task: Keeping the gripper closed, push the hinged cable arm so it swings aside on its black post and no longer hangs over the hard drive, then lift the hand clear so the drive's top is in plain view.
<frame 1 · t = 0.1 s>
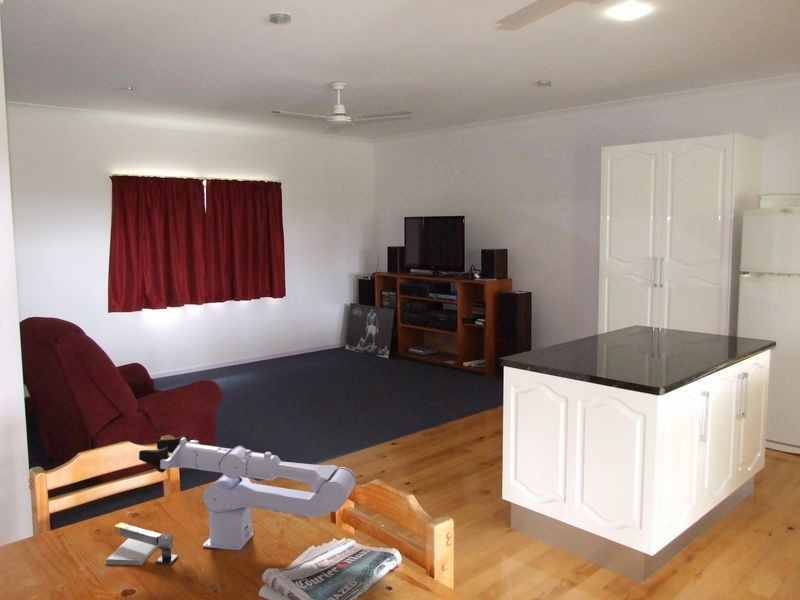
hand: (148, 449, 157), 22 cm above the table, tool horizontal, fingers open, 7 cm apart
cable arm: (144, 535, 149), point 4 cm above the table, hinge at -15.0°
hard drive: (136, 553, 151), on the table
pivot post: (166, 560, 147), on the table
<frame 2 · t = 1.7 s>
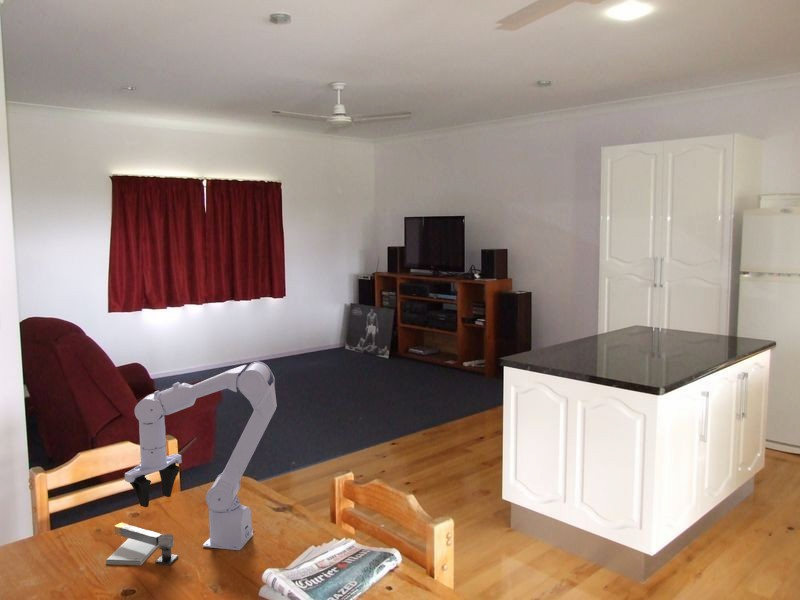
hand: (155, 500, 154), 10 cm above the table, tool pointing down, fingers open, 6 cm apart
nothing on the table moved.
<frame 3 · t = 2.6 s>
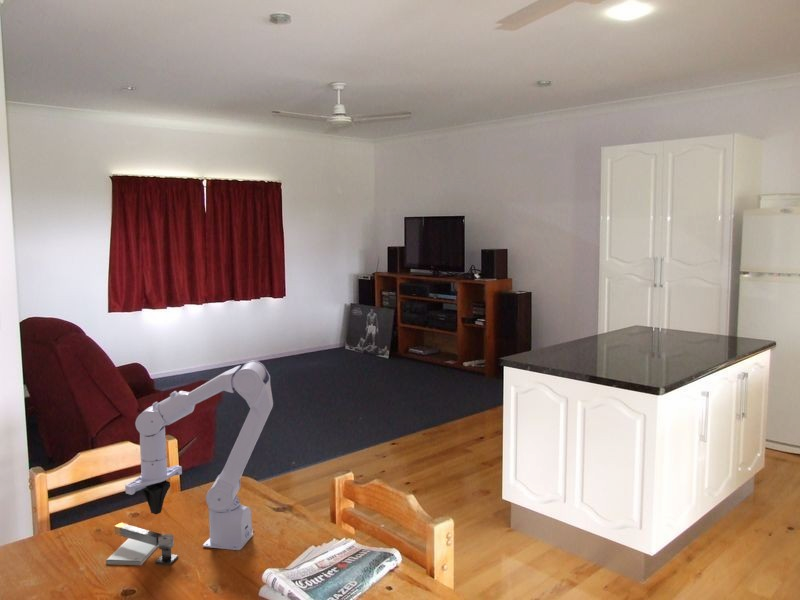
hand: (156, 512, 154), 8 cm above the table, tool pointing down, fingers closed
nothing on the table moved.
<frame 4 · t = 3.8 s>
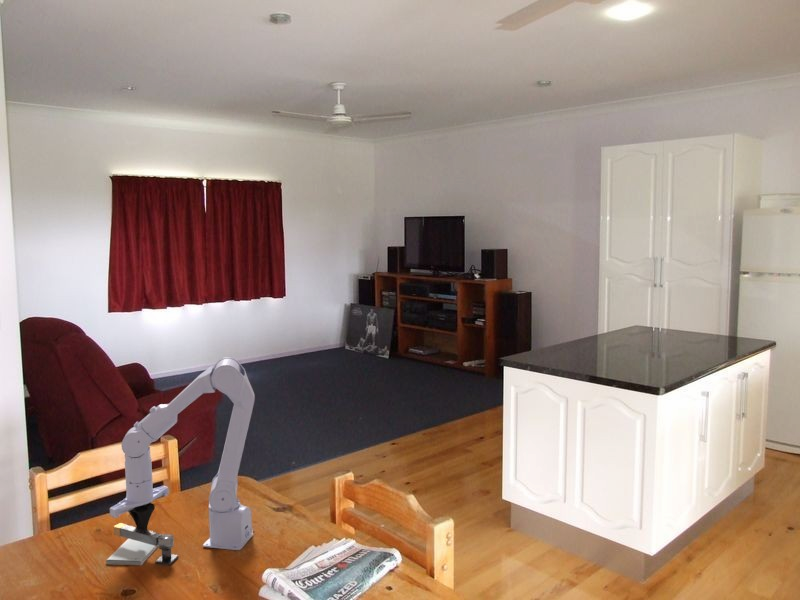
hand: (142, 534, 151), 4 cm above the table, tool pointing down, fingers closed, pressing on cable arm
cable arm: (143, 535, 149), point 4 cm above the table, hinge at -14.1°, touching gripper
everything else where it was.
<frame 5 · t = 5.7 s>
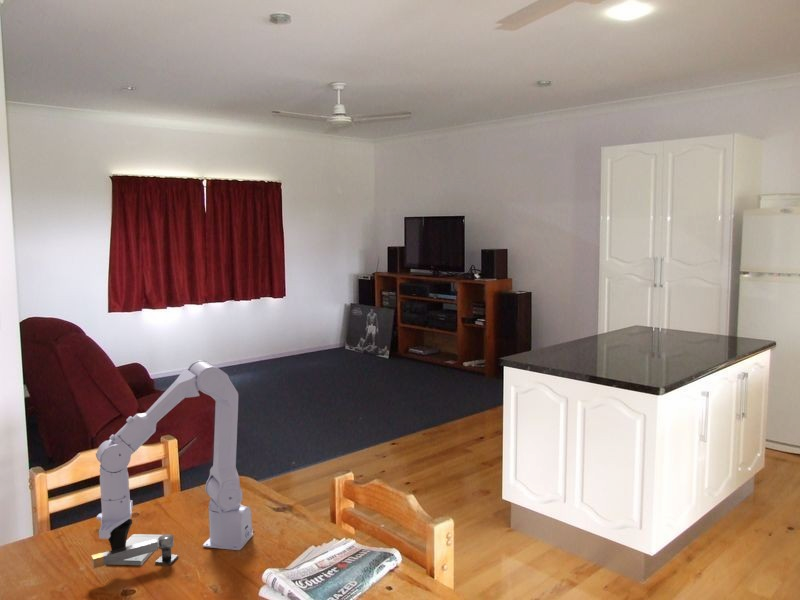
hand: (118, 554, 142), 4 cm above the table, tool pointing down, fingers closed, pressing on cable arm
cable arm: (134, 550, 142), point 4 cm above the table, hinge at 45.3°, touching gripper
everything else where it was.
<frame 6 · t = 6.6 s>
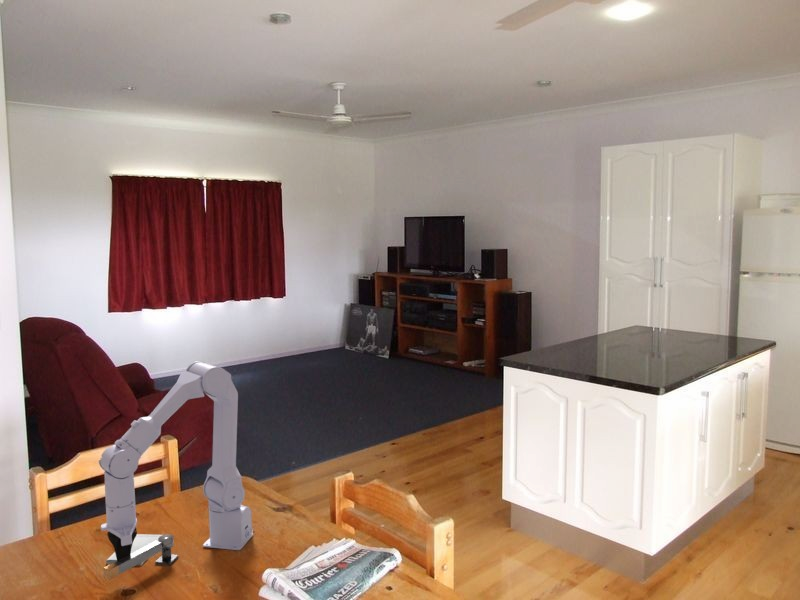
hand: (123, 562, 139), 4 cm above the table, tool pointing down, fingers closed, pressing on cable arm
cable arm: (141, 555, 140), point 4 cm above the table, hinge at 71.8°, touching gripper
everything else where it was.
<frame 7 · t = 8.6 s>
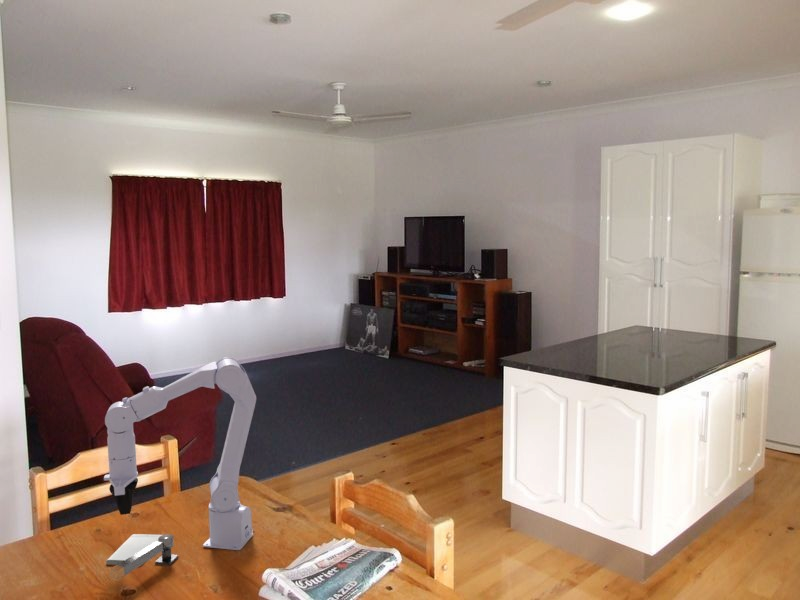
hand: (125, 513, 148), 10 cm above the table, tool pointing down, fingers closed
cable arm: (143, 556, 140), point 4 cm above the table, hinge at 77.9°
everything else where it was.
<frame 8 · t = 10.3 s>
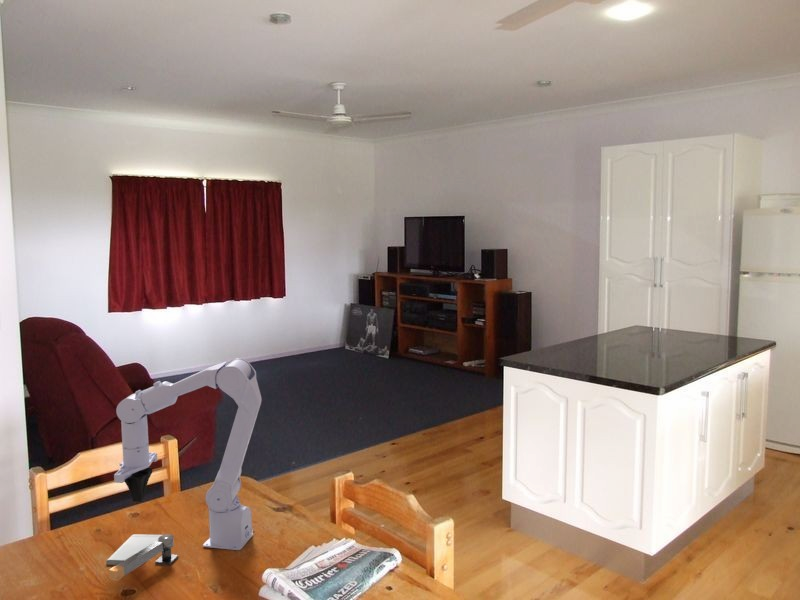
hand: (138, 500, 154), 10 cm above the table, tool pointing down, fingers closed
nothing on the table moved.
at the end: cable arm at +78° (first picture: -15°); hard drive moved 0.8 cm from its start; the gripper is holding nothing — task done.
